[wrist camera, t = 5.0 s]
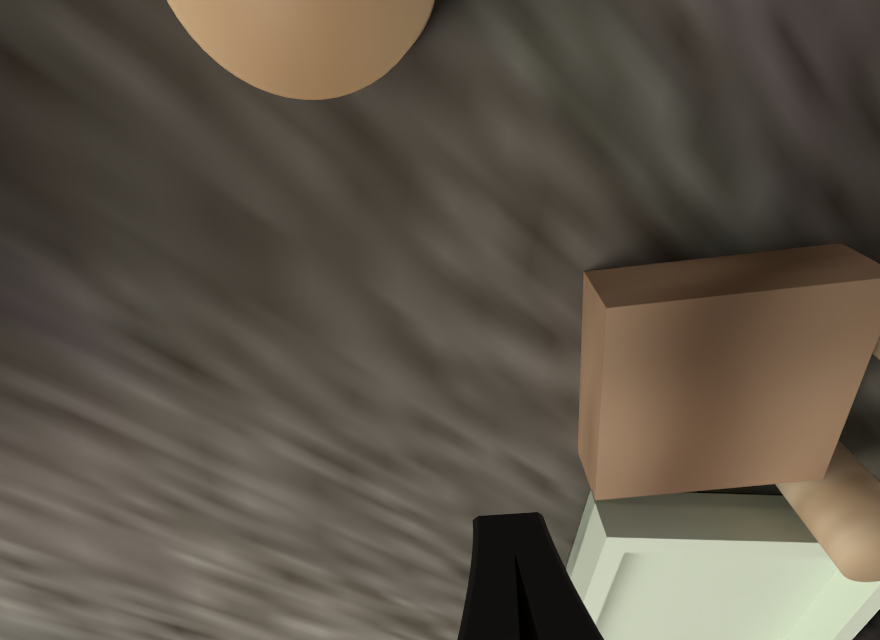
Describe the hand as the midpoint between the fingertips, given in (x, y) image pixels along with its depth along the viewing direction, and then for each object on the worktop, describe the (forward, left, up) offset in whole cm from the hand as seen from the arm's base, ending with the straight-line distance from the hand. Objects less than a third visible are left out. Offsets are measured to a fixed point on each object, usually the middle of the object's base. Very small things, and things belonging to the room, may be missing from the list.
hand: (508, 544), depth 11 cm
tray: (-10, +12, -6) cm, 17 cm away
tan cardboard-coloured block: (-7, -1, -7) cm, 9 cm away
